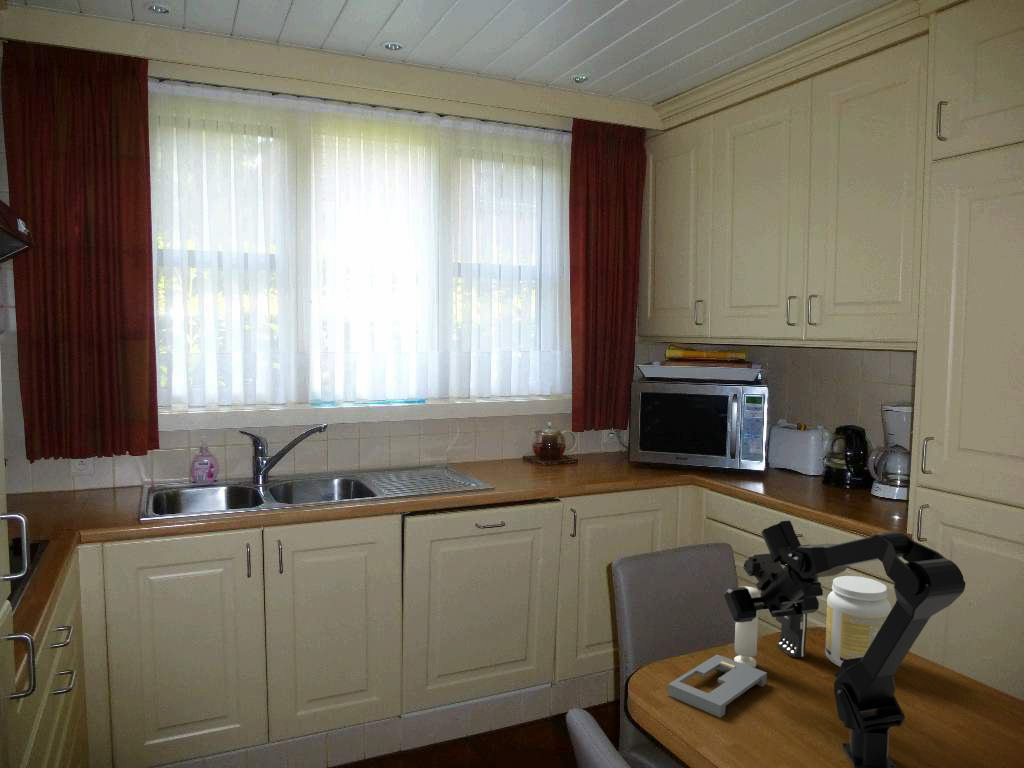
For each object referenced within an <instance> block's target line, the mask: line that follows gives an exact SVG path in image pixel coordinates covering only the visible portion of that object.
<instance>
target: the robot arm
mask: <svg viewBox="0 0 1024 768" xmlns="http://www.w3.org/2000/svg"><path fill="white" fill-rule="evenodd" d="M760 533H761V536H762V538H763V540H764V543H765V546H766V547H767V550H768V552H769V553H761V554H754V555H753V556H749V557H748V559H746V560H745V561H744V563H743V570H744V571H745V572H746V574H747V575H748V577H754V578H755V579H756V580H757V583H756V584H755V585H756V589H758V590H759V591H760V592H759V597H756V598H751V595H750V593H749V590H748V589H747V588H746V587H741V586H738V587H737V586H735V587H729V588H728V589H727V590H726V591H725V592H724V594H723V597H724V599H725V601H726V604H727V607H728V608H729V609H728V610H729V612H730V614H731V619H732V621H733V623H736V622H748V621H752V619H754V618H756V616H757V611H758V612H759V611H767V610H769V613H770V615H771V618H776V617H782V616H794V615H802V614H807V615H808V614H812V613H815V612H816V611H818V610H819V608H820V600H819V598H818V597H822V596H823V595H824V593H823V592H824V590H823V588H822V583H821V582H820V581H819V578H827V577H834V576H837V575H839V574H841V573H843V572H846V570H847V568H849V567H851V566H856V565H860V564H867V563H871V562H875V561H876V562H877V561H880V562H881V563H882V566H883V569H884V571H885V575H886V576H887V577H888V578H889V579H890V580H891V581H892V582H893V583H894V585H893V588H894V594H895V598H896V601H895V602H894V604H893V606H892V608H891V611H890V613H889V614H888V616H887V618H886V619H885V621H884V623H883V625H882V626H881V628H880V630H879V631H878V633H877V635H876V636H875V638H874V640H873V641H872V643H871V645H870V646H869V648H868V650H867V651H866V653H865V655H864V656H863V657H859V658H852V659H846V660H844V661H843V662H842V664H841V667H839V669H838V671H837V672H835V673H834V674H833V675H834V677H836V678H835V681H834V685H833V692H834V697H835V702H836V708H837V709H836V710H837V714H838V719H839V720H840V721H841V722H842V723H843V724H844V725H843V726H844V728H846V729H849V743H848V742H842V743H841V748H842V750H843V752H844V753H845V755H846V756H847V758H848V759H849V761H850V763H851V764H852V766H853V767H854V768H897V765H895V763H894V762H893V760H892V759H891V758H890V756H889V743H890V742H889V741H890V739H889V738H890V728H893V727H901V726H903V723H904V721H905V719H906V716H905V714H904V712H903V709H901V706H900V704H899V702H898V700H897V698H896V697H895V691H896V688H897V687H896V684H895V680H894V679H895V678H894V674H895V673H896V671H897V670H898V669H899V667H900V665H901V664H902V662H903V660H904V659H905V657H906V656H907V654H908V653H909V652H910V650H911V648H912V646H913V645H914V644H915V642H916V640H917V639H918V637H919V636H920V634H921V632H922V631H923V629H924V628H925V626H926V625H927V623H928V621H929V620H930V619H931V617H933V616H934V615H936V614H937V613H939V612H941V611H943V610H945V609H946V608H948V607H950V606H951V605H952V604H953V603H954V602H955V601H956V600H957V599H958V598H960V596H961V595H962V594H963V593H964V592H965V589H966V581H965V580H964V575H963V573H962V571H961V569H960V567H959V566H958V565H957V563H955V562H954V561H952V559H951V560H950V559H948V558H946V557H945V556H943V554H941V553H940V552H938V551H936V550H934V549H932V548H931V547H928V546H925V545H923V544H922V543H920V542H917V541H915V540H913V538H911V537H910V536H909V535H907V534H905V532H902V531H888V532H878V533H877V532H876V533H875V534H874V535H871V536H868V537H864V538H859V539H854V540H851V541H847V542H843V543H820V544H801V542H800V540H799V538H798V536H797V534H796V531H795V529H794V525H793V524H792V521H791V520H781V521H780V522H778V523H776V524H774V525H771V526H768V527H767V528H764V529H763V530H762V531H761V532H760ZM900 558H902V559H903V560H904V561H906V562H904V561H903V560H902V559H900ZM782 565H785V566H784V567H783V566H782Z"/></svg>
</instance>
